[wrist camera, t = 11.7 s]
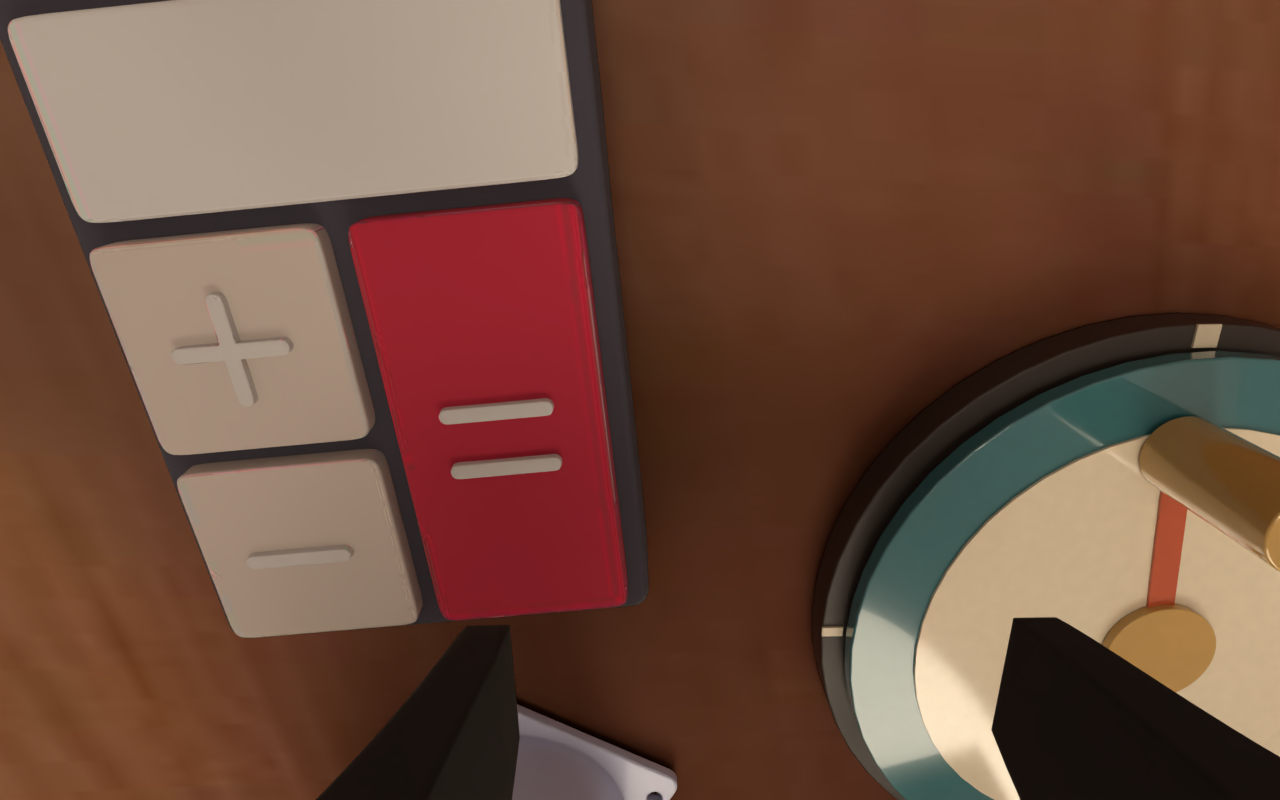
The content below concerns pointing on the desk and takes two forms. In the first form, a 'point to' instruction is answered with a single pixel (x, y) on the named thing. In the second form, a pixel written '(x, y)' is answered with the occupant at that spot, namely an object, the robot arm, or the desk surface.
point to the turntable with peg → (1079, 562)
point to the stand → (954, 425)
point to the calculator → (358, 293)
